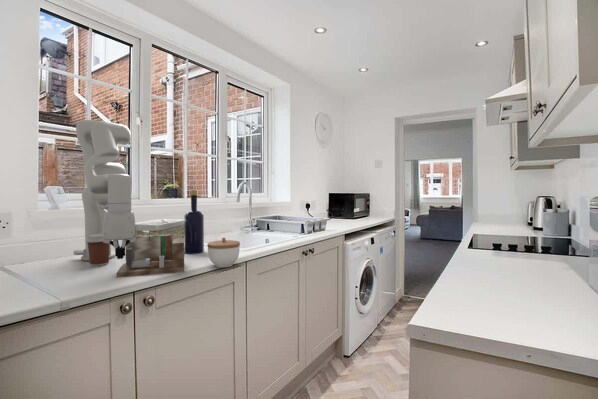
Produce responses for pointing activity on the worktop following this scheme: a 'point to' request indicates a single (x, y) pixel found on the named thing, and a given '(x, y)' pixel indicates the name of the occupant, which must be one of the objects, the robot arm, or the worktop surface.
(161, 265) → the max needle
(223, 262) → the lidded bowl
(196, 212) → the bottle
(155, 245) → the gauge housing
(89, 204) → the robot arm
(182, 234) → the storage basket
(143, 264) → the grey angle bracket
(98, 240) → the coffee cup
